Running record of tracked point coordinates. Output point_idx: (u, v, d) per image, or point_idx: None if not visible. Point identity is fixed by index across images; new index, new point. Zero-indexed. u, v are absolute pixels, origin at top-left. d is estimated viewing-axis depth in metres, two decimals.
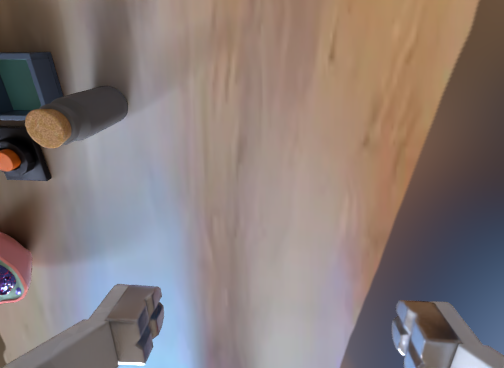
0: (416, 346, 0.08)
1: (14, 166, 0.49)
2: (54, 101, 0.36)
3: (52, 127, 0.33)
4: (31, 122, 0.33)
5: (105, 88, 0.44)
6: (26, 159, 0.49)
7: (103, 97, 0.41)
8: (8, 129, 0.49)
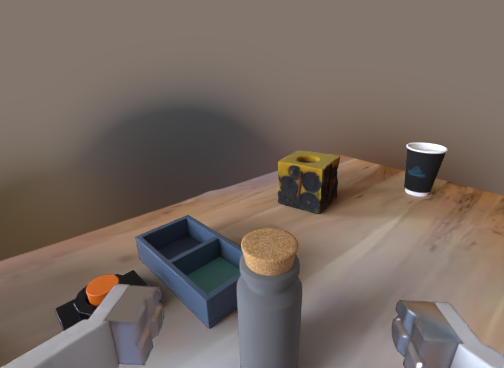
0: (416, 346, 0.08)
1: (99, 297, 0.33)
2: None
3: (281, 246, 0.23)
4: (265, 232, 0.25)
5: None
6: None
7: None
8: (145, 285, 0.38)
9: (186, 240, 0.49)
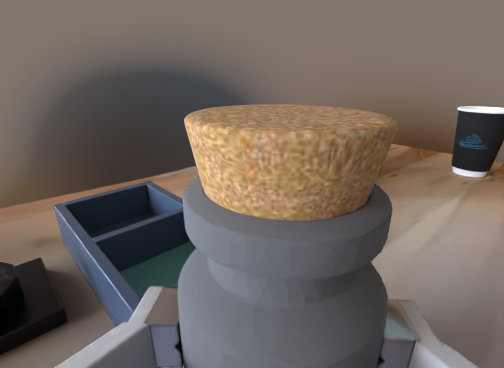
0: None
1: None
2: None
3: (334, 116, 0.06)
4: (271, 106, 0.08)
5: None
6: None
7: None
8: (48, 283, 0.21)
9: (144, 218, 0.32)
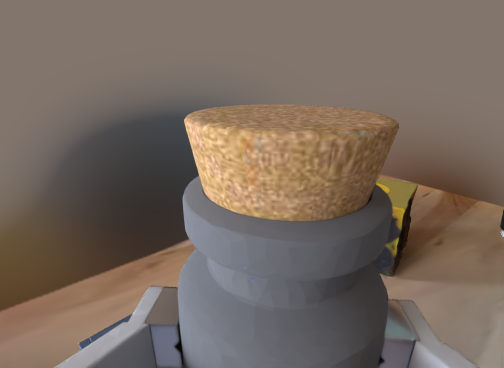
0: None
1: None
2: None
3: (334, 116, 0.06)
4: (271, 106, 0.08)
5: None
6: None
7: None
8: None
9: None
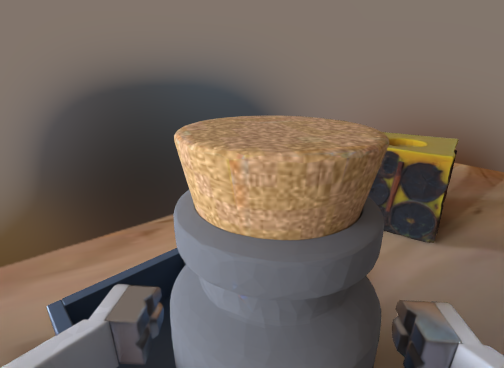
0: (416, 346, 0.08)
1: None
2: None
3: (325, 132, 0.06)
4: (264, 118, 0.08)
5: None
6: None
7: None
8: None
9: None
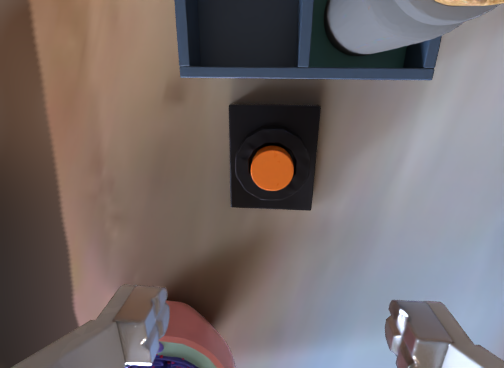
0: (408, 345, 0.08)
1: None
2: None
3: None
4: None
5: None
6: (309, 167, 0.25)
7: None
8: (278, 108, 0.25)
9: None
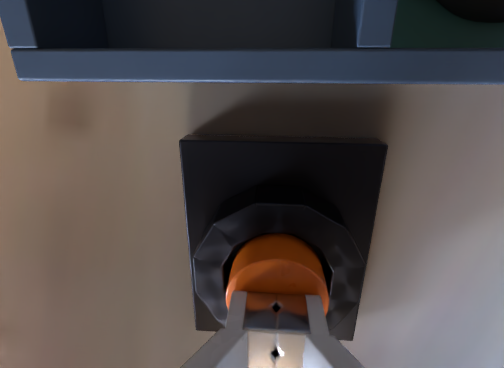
0: None
1: None
2: None
3: None
4: None
5: None
6: (361, 283, 0.11)
7: None
8: (290, 148, 0.11)
9: None
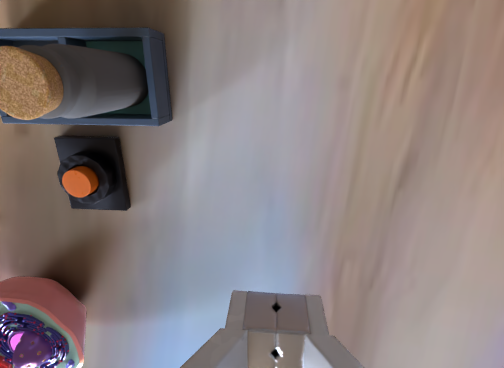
0: None
1: (91, 190, 0.35)
2: None
3: (29, 80, 0.19)
4: None
5: (120, 53, 0.30)
6: (108, 181, 0.36)
7: (118, 59, 0.27)
8: (86, 139, 0.36)
9: None
